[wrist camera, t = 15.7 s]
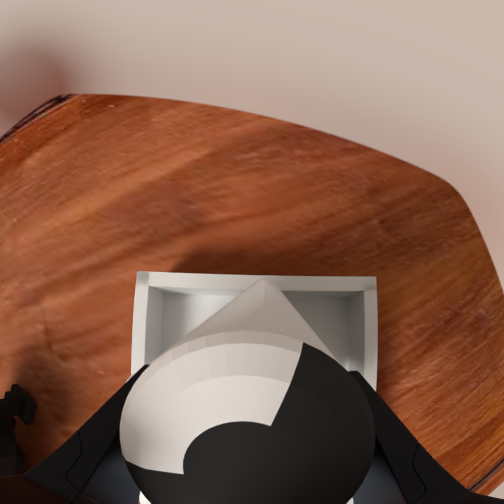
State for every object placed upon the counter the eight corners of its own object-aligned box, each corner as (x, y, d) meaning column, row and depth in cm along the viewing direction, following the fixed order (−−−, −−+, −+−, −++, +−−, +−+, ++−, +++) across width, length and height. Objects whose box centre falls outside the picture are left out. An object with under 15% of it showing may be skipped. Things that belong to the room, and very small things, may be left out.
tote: (339, 508, 15) (352, 534, 11) (160, 502, 15) (144, 527, 11) (354, 287, 19) (376, 276, 16) (158, 283, 20) (137, 271, 16)
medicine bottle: (336, 382, 16) (453, 457, 4) (243, 449, 15) (224, 591, 3) (262, 292, 17) (274, 227, 6) (170, 363, 16) (38, 410, 5)
